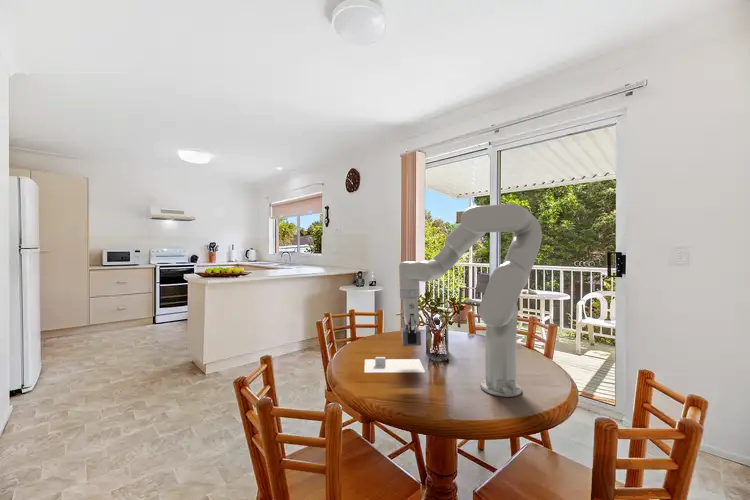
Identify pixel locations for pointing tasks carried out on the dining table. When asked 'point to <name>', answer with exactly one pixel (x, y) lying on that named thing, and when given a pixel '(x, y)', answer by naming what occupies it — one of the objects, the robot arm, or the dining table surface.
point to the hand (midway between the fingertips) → (410, 340)
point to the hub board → (392, 365)
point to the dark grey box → (405, 337)
